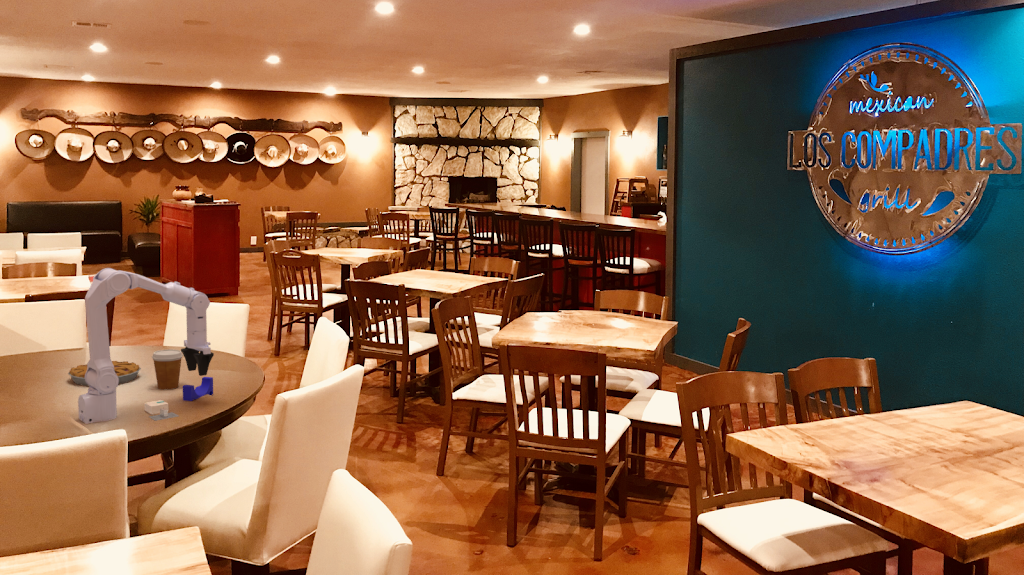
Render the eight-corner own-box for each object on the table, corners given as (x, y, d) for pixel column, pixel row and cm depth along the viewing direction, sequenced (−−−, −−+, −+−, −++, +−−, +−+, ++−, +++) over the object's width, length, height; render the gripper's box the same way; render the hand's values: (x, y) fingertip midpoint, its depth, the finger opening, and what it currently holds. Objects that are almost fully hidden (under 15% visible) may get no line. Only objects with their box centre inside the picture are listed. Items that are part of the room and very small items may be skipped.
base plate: (155, 424, 230) (155, 420, 230) (148, 420, 233) (148, 416, 233) (179, 420, 235) (179, 416, 235) (172, 416, 238) (172, 412, 238)
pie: (105, 391, 262) (104, 376, 262) (53, 383, 269) (53, 368, 269) (154, 376, 283) (154, 362, 282) (105, 369, 290) (105, 355, 289)
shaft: (163, 417, 232) (163, 410, 232) (160, 415, 234) (159, 408, 234) (167, 417, 233) (167, 409, 233) (163, 414, 235) (163, 407, 235)
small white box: (151, 418, 235) (151, 405, 235) (144, 414, 239) (144, 402, 238) (168, 415, 239) (168, 402, 238) (161, 411, 242) (161, 399, 242)
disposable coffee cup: (164, 382, 274) (163, 348, 273) (189, 384, 272) (188, 350, 271) (146, 389, 265) (145, 354, 263) (172, 392, 263) (171, 356, 262)
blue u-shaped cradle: (200, 394, 263) (200, 376, 262) (213, 395, 262) (212, 377, 261) (178, 404, 251) (178, 385, 250) (191, 405, 250) (191, 386, 249)
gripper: (219, 332, 245) (220, 375, 247) (199, 324, 255) (199, 366, 257) (197, 334, 240) (198, 378, 242) (176, 327, 250) (177, 369, 252)
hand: (197, 372), depth 249 cm, fingers open, 7 cm apart
